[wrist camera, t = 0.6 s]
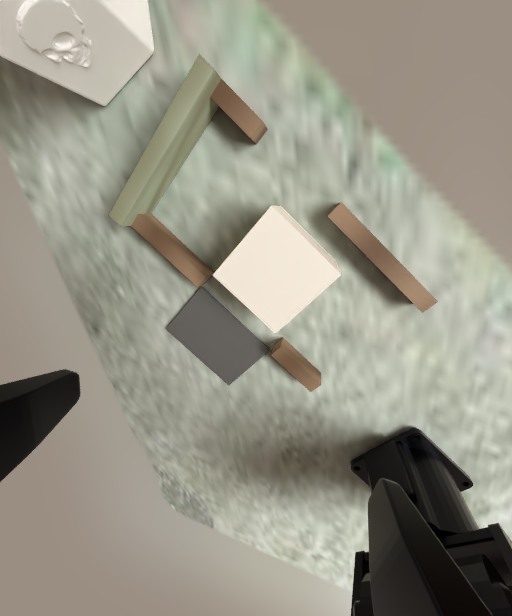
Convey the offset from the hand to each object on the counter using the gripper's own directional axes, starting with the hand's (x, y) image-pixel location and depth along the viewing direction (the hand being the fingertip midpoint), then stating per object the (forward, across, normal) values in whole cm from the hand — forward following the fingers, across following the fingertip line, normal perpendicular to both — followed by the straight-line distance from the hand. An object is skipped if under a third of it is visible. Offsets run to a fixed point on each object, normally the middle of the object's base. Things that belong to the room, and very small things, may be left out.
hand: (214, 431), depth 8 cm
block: (+13, 0, -3) cm, 13 cm away
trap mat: (+12, +4, +4) cm, 14 cm away
